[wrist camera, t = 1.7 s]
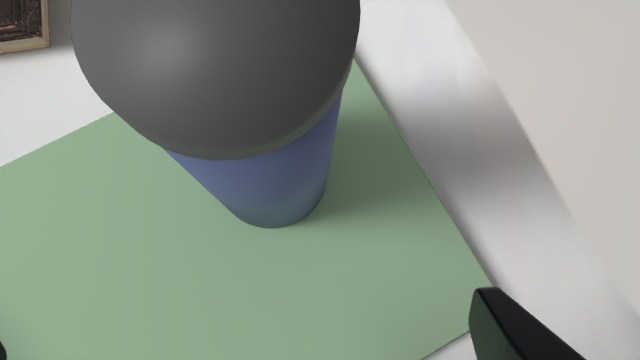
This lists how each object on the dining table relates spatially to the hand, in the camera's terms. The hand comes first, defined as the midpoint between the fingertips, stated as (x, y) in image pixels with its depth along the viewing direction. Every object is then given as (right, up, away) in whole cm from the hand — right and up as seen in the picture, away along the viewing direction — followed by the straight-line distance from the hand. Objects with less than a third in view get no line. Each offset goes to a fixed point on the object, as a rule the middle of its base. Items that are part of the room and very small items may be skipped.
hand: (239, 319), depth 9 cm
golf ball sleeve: (-1, +3, +12) cm, 13 cm away
